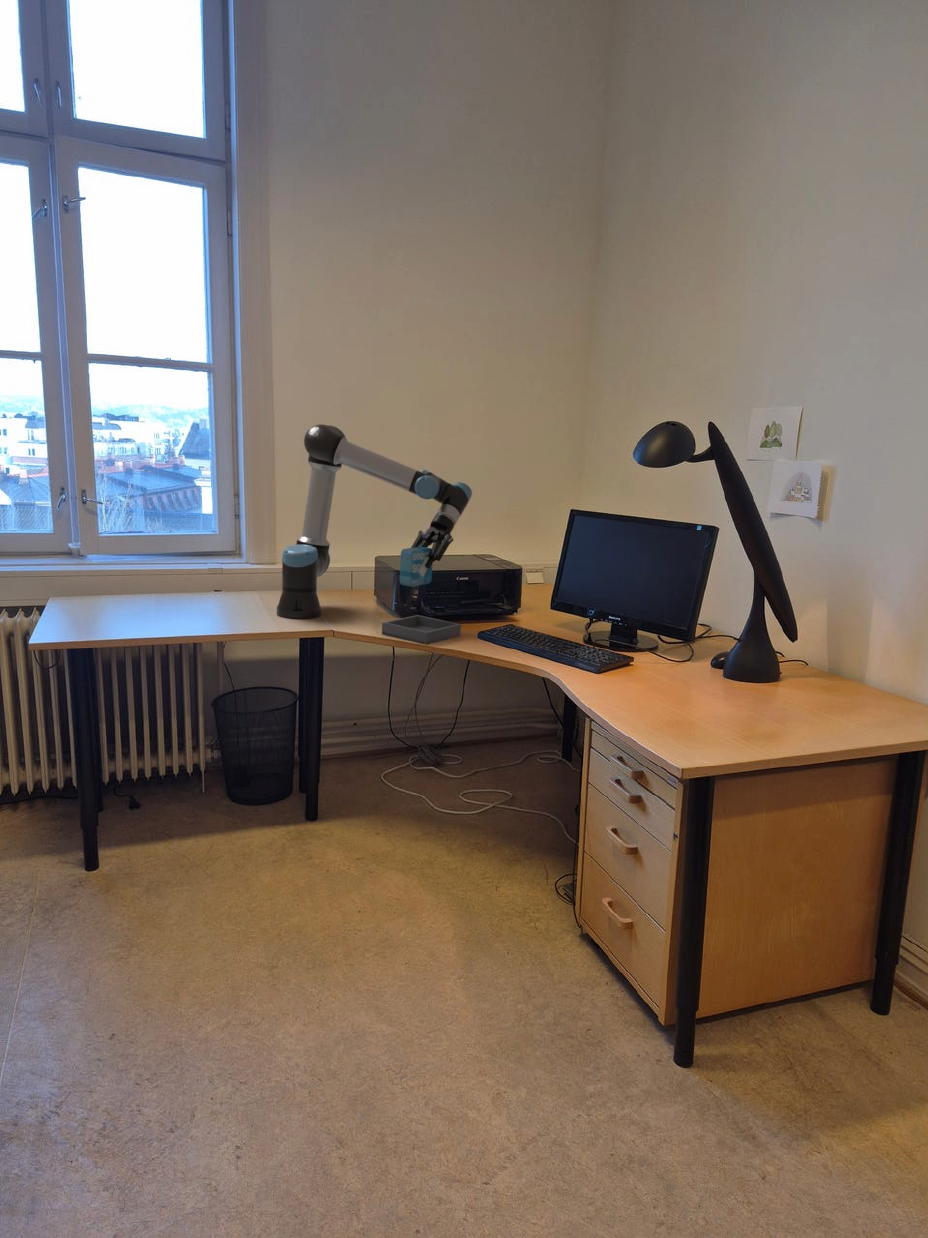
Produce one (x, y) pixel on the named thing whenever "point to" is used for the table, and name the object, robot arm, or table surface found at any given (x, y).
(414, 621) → the tray
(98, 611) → the table surface
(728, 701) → the table surface
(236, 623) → the table surface
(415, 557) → the blue printed box
